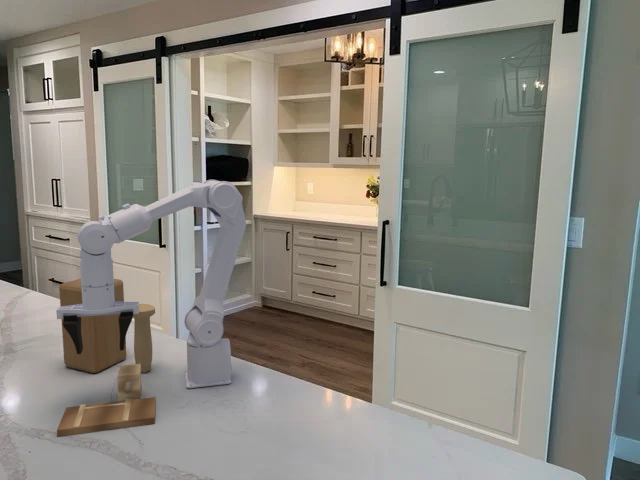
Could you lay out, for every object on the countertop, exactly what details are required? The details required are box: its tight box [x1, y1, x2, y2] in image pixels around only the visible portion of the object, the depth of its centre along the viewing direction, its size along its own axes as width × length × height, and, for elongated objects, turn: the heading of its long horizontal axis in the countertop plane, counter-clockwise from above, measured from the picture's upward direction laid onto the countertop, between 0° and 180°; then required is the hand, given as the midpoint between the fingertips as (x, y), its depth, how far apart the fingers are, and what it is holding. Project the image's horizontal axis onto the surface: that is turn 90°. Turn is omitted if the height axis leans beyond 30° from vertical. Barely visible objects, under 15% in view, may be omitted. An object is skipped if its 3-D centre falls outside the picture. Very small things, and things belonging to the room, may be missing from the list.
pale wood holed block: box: [116, 363, 143, 401], centre depth 94 cm, size 4×8×6 cm, turn 17°
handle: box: [133, 303, 156, 374], centre depth 107 cm, size 5×6×15 cm
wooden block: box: [58, 278, 127, 374], centre depth 110 cm, size 10×10×20 cm
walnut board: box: [56, 396, 157, 437], centre depth 88 cm, size 16×8×1 cm, turn 107°
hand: (101, 350), depth 93 cm, fingers open, 7 cm apart
